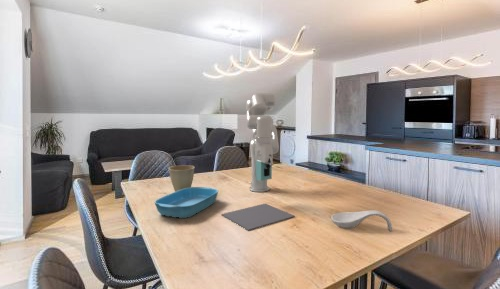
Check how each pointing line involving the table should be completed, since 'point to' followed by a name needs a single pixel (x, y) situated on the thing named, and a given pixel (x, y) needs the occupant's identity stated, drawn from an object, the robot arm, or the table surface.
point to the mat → (257, 216)
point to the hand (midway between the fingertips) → (264, 174)
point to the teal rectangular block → (262, 171)
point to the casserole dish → (186, 201)
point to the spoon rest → (356, 218)
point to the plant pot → (181, 176)
